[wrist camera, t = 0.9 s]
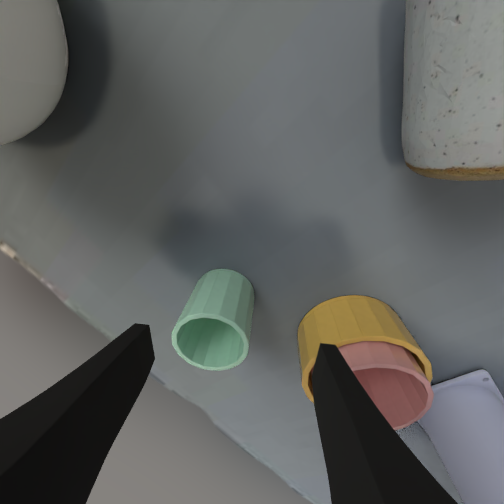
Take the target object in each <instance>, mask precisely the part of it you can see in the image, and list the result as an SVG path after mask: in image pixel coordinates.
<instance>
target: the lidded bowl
mask: <svg viewBox="0 0 504 504" xmlns="http://www.w3.org/2000/svg"><path fill="white" fill-rule="evenodd" d="M67 70H68V46H67V39H66V35H65V28H64V24H63V20H62V16H61V12H60V8H59V5H58V2H57V0H0V146H2V145H5V144H8V143H11V142H13V141H15V140H18V139H20V138H22V137H24V136H26V135H27V134H29V133H30V132H32V131H33V130H35V129H36V128H37V127H39V126H40V125H41V124H43V123H44V121H45V120H46V119H47V118H48V117H49V115H50V114H51V113H52V112H53V110H54V109H55V108H56V106H57V104H58V102H59V100H60V98H61V96H62V92H63V89H64V85H65V82H66V75H67Z"/></svg>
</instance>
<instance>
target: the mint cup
mask: <svg viewBox="0 0 504 504" xmlns="http://www.w3.org/2000/svg"><path fill="white" fill-rule="evenodd" d="M254 298H255V295H254V289H253V287H252V285H251V283H250V282H249V280H248V279H247V278H246V277H244V276H243V275H242V274H240V273H238V272H236V271H233V270H230V269H215V270H211V271H209V272H207V273H205V274H204V275H203V276H202V277H201V278H200V279H199V280H198V282H197V284H196V286H195V288H194V290H193V292H192V294H191V296H190V298H189V300H188V302H187V304H186V306H185V308H184V310H183V312H182V313H181V315H180V317H179V319H178V321H177V323H176V325H175V327H174V329H173V331H172V344H173V346H174V348H175V350H176V352H177V353H178V355H179V356H180V357H182V358H183V359H184V360H185V361H187V362H188V363H189V364H191V365H194V366H196V367H199V368H201V369H206V370H213V371H220V370H227V369H231V368H233V367H235V366H237V365H239V364H241V363H242V361H243V360H244V359H245V357H246V356H247V355H248V349H249V341H250V333H251V324H252V315H253V307H254Z"/></svg>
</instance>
